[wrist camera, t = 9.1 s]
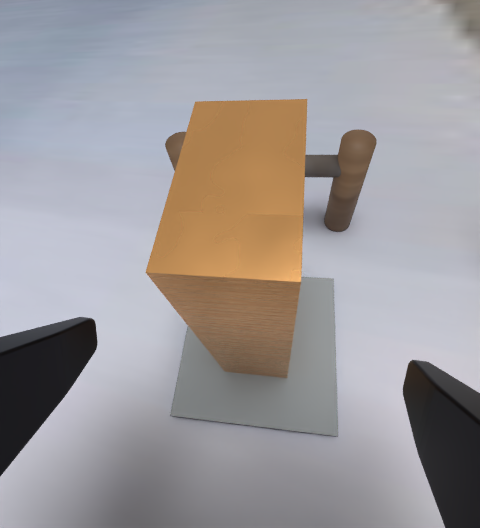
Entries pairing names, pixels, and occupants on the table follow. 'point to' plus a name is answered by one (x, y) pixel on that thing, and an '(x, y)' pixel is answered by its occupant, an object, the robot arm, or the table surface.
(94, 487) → the table surface
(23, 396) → the robot arm
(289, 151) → the orange c-shaped block
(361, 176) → the rail stand
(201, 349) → the grey mat
